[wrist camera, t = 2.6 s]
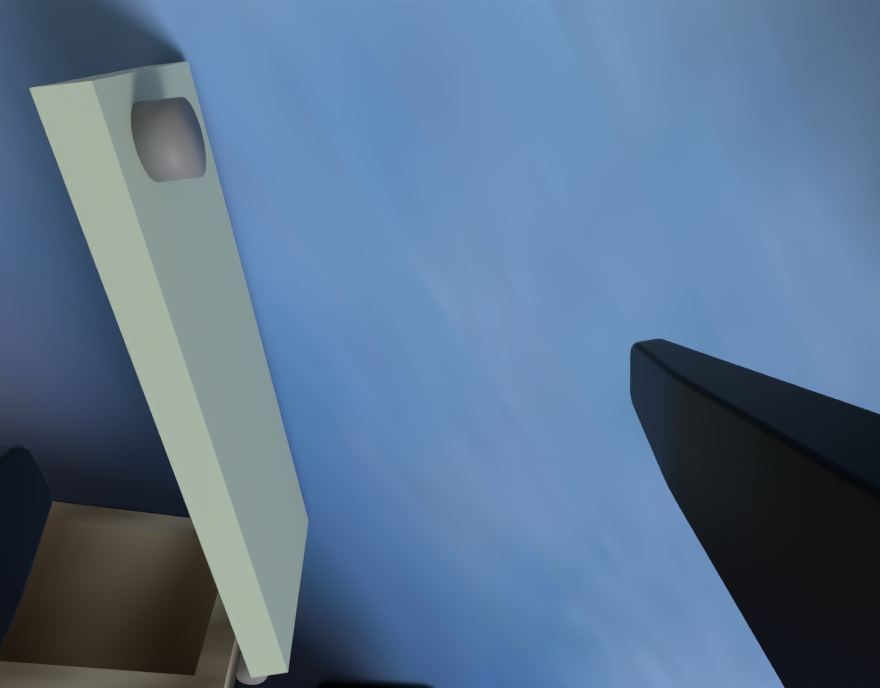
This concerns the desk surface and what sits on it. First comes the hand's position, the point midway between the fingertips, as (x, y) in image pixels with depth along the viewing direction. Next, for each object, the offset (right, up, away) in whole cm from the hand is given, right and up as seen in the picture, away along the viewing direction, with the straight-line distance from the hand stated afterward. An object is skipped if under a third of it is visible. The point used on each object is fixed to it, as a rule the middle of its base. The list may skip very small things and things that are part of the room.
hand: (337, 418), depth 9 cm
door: (-5, +1, +13) cm, 14 cm away
